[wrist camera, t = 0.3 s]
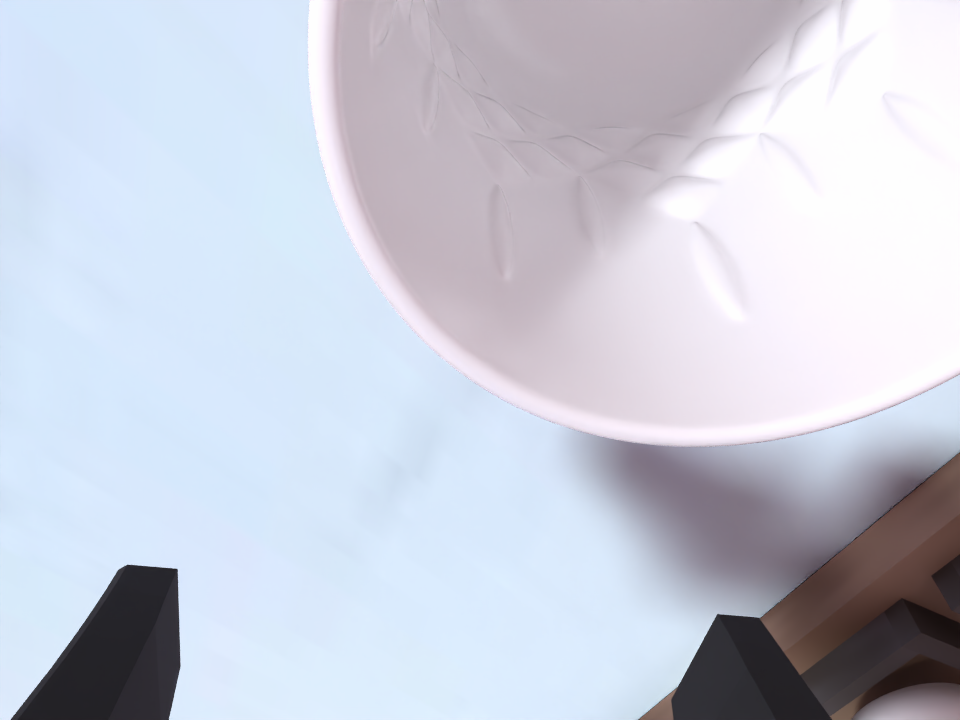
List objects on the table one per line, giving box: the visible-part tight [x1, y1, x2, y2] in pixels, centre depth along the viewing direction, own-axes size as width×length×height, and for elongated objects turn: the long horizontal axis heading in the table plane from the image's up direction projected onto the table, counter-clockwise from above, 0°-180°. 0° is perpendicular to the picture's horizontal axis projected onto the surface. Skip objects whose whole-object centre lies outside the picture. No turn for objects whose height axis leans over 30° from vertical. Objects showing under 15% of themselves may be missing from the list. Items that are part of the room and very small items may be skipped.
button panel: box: [639, 453, 960, 720], centre depth 28 cm, size 21×9×3 cm, turn 149°
